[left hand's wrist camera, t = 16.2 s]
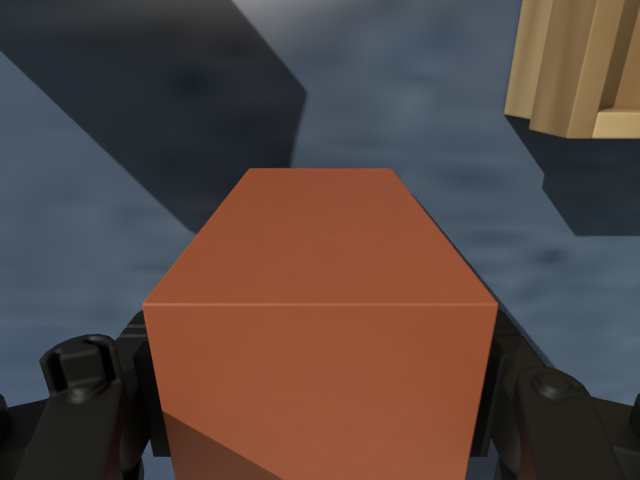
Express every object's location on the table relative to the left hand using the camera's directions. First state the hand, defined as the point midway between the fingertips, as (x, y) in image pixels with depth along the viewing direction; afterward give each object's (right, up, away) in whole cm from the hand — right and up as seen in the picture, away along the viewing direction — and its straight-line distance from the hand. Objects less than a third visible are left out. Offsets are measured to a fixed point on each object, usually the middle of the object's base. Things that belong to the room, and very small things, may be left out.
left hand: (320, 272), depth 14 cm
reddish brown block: (0, +1, +4) cm, 4 cm away
